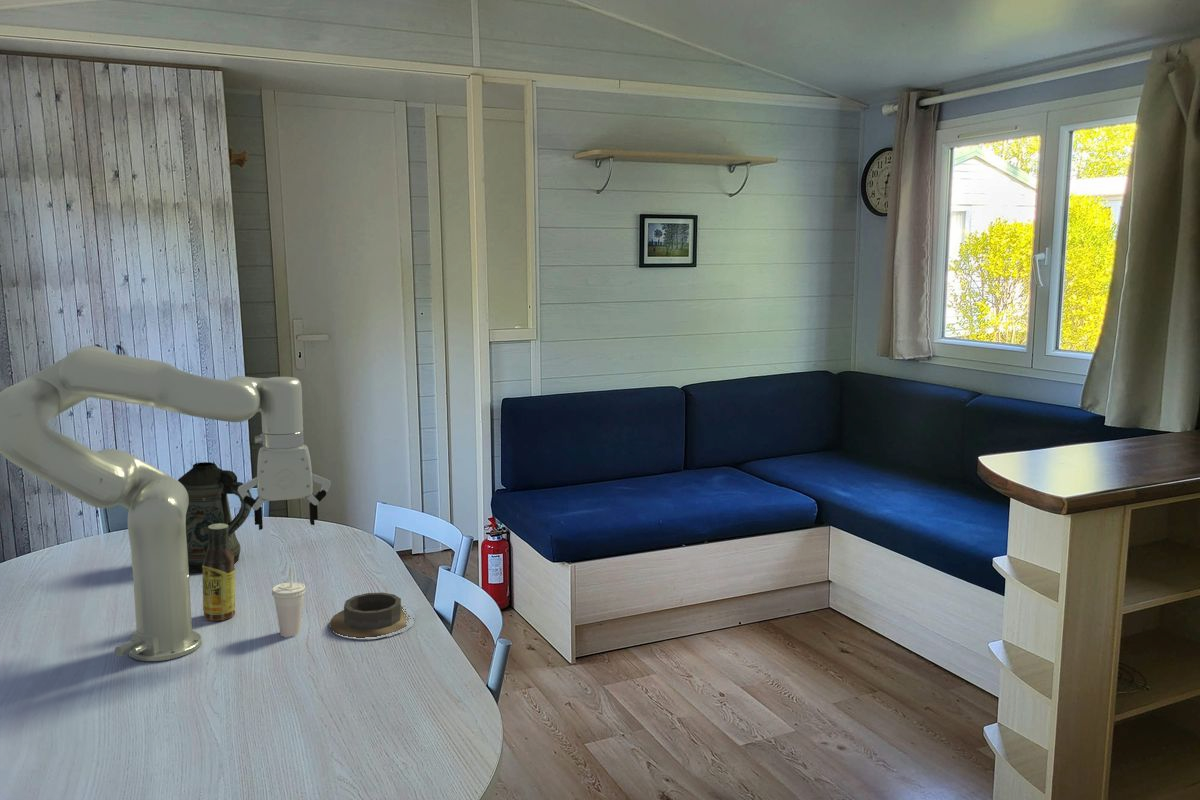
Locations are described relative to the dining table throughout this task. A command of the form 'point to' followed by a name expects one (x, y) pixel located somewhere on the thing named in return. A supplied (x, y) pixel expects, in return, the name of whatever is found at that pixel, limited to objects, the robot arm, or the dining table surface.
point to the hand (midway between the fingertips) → (286, 525)
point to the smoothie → (289, 606)
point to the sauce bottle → (218, 575)
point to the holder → (370, 616)
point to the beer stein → (210, 509)
